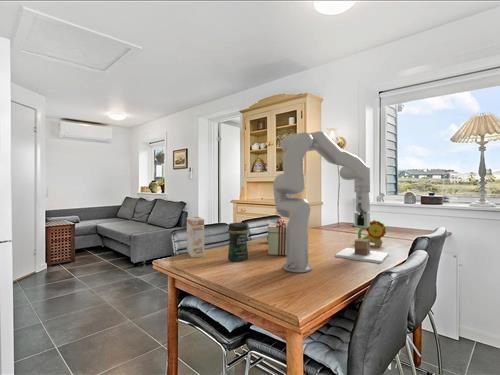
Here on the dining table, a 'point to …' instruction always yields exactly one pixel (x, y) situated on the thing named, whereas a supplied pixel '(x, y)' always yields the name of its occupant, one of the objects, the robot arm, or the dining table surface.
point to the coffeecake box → (195, 236)
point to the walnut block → (362, 246)
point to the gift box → (277, 238)
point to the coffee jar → (238, 241)
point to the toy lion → (374, 232)
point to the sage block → (366, 220)
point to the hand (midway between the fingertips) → (362, 224)
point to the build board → (371, 257)
